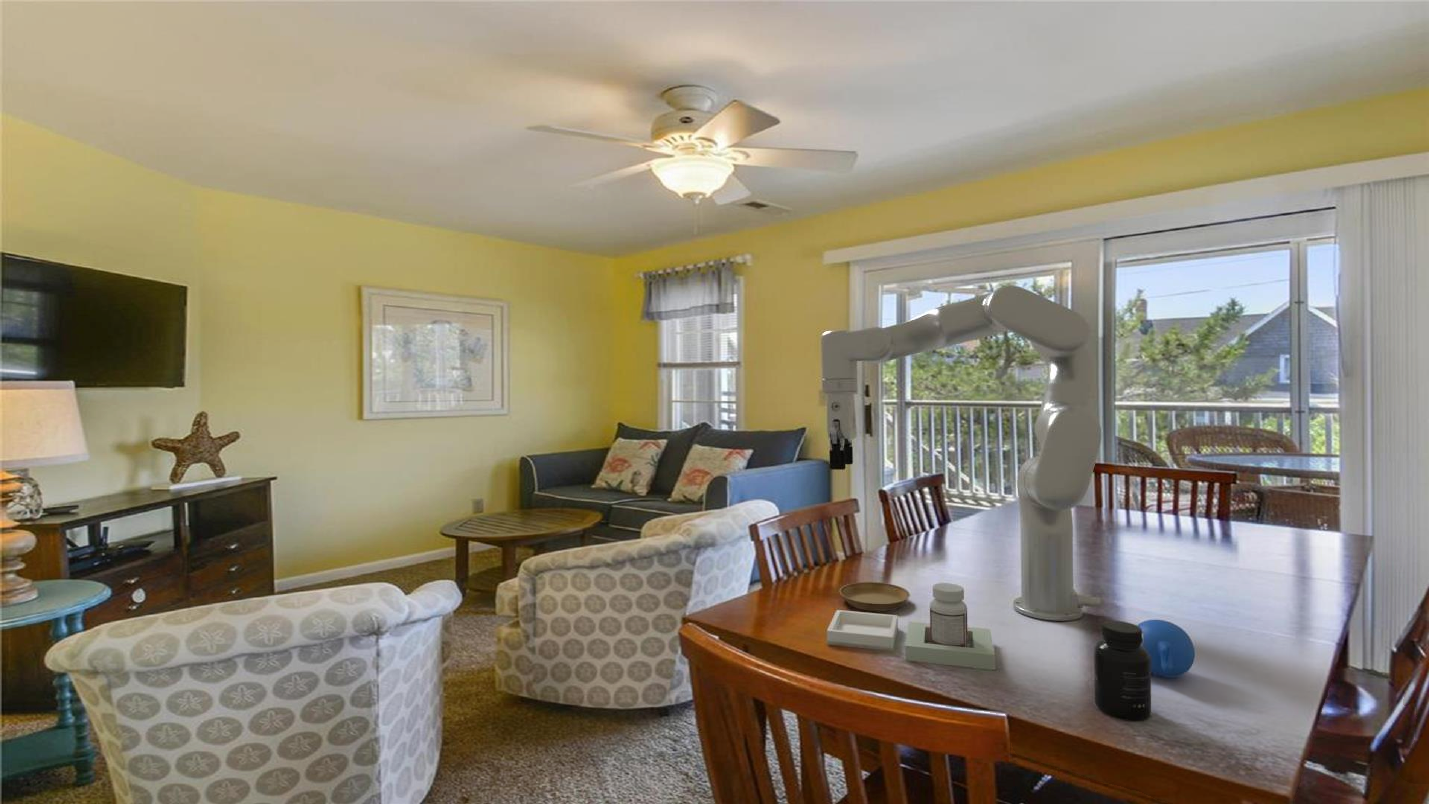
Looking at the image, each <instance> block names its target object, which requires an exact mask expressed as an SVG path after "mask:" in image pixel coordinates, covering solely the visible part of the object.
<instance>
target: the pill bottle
mask: <svg viewBox="0 0 1429 804" xmlns="http://www.w3.org/2000/svg"><path fill="white" fill-rule="evenodd" d="M932 597H933V599H932V600H931V601H930V603H929V620H930V621H929V623H930V641H929V642H930V643H929V644H938V645H947V646H957V647H967V648H969V645H968V636H967V627H968V606H967V604H966V602H964V601H963V600H964V599H965V589H964V587H962V586H961V585H958V584H956V583H951V582H950V583H949V582H948V583H947V582H940V583H939V582H938V583H934V584H933V586H932Z"/></svg>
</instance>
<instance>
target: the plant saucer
mask: <svg viewBox="0 0 1429 804" xmlns="http://www.w3.org/2000/svg"><path fill="white" fill-rule="evenodd" d="M839 594H840V595H841V597H842V598H843V599H844V601H846V603H848V605H850V606H851V607H853V608H855V609H858V610H862V611H867V612H890V611H895V610H898V609H899V608H901V607H902V606H903V605H904V604H905V603H906V602H907V601H908V600H909V598H910V596H911V593H910V591H908V589H906V588H904V587H902V586H899V585H895V584H892V583H886V582H877V581H862V582H854V583H849V584H845V585H844V586H841V588H839Z"/></svg>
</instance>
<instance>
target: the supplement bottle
mask: <svg viewBox="0 0 1429 804" xmlns="http://www.w3.org/2000/svg"><path fill="white" fill-rule="evenodd" d="M1101 638H1102V639H1101V640H1099V641H1097V643H1096V644H1095V645H1094V650H1093V657H1094V658H1093V661H1094V663H1093V665H1094V667H1093V670H1094V671H1093V673H1094V681H1093V682H1094V685H1093V686H1094V703H1095V706H1096V707H1097V708H1098V709H1099V710H1100V711H1101V712H1103V713H1104V714H1106V715H1108V716H1110V717H1112V718H1115V719H1119V720H1123V721H1130V722H1140V721H1145V720H1147V719H1148V718H1149V717H1150V716H1151V714H1152V673H1151V657H1150V654H1149V652H1148V651H1147V650H1146V649H1145V648H1144V647H1143V646H1141V644H1142V643H1143V638H1142V629H1141V628H1140V627H1138V626H1137V625H1136V624H1134V623H1131V622H1126V621H1122V620H1121V621H1120V620H1106V621H1103V623H1102V624H1101Z"/></svg>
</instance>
